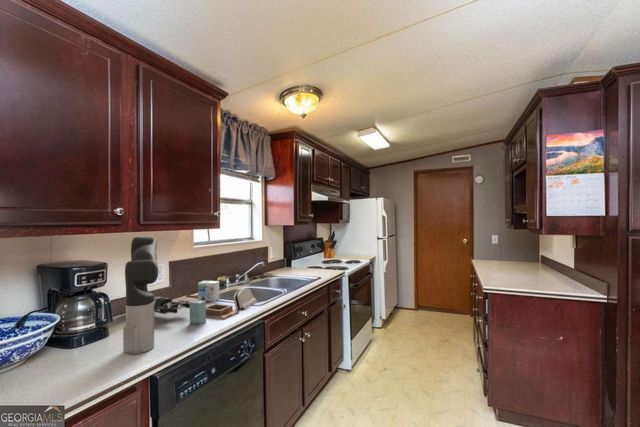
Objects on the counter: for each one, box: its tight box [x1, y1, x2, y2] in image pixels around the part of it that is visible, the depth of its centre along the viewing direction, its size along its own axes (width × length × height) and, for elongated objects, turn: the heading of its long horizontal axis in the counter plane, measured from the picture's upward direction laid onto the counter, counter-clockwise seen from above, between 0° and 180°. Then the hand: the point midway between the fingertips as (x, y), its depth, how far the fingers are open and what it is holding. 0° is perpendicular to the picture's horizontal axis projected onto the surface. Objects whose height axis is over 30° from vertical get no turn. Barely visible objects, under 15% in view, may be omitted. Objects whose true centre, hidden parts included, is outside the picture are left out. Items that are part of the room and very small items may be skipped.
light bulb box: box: [197, 280, 220, 302], centre depth 186 cm, size 11×7×11 cm, turn 83°
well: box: [206, 303, 240, 320], centre depth 157 cm, size 11×18×4 cm, turn 66°
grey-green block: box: [189, 299, 207, 326], centre depth 144 cm, size 4×6×10 cm, turn 66°
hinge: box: [232, 288, 258, 311], centre depth 173 cm, size 17×5×10 cm, turn 169°
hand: (184, 308), depth 148 cm, fingers open, 8 cm apart
